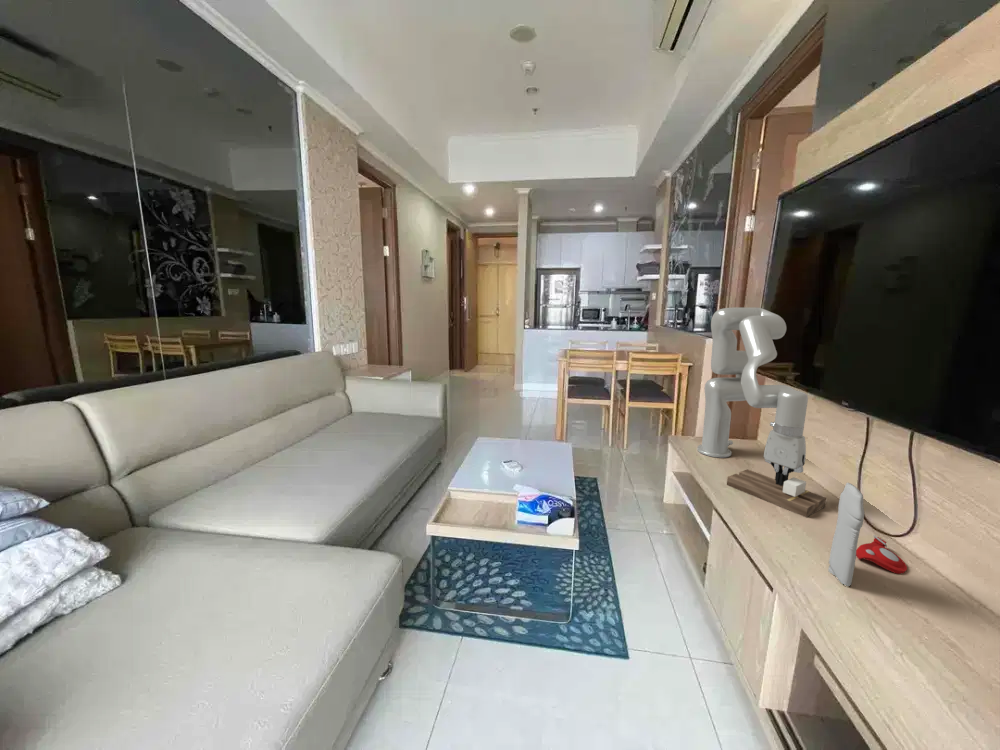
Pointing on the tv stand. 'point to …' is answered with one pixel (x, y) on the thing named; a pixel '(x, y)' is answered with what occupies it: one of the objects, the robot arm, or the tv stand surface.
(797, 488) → the fader knob
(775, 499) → the fader console
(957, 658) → the tv stand surface
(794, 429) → the robot arm
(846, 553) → the tall pale column
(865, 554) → the tracker holder
